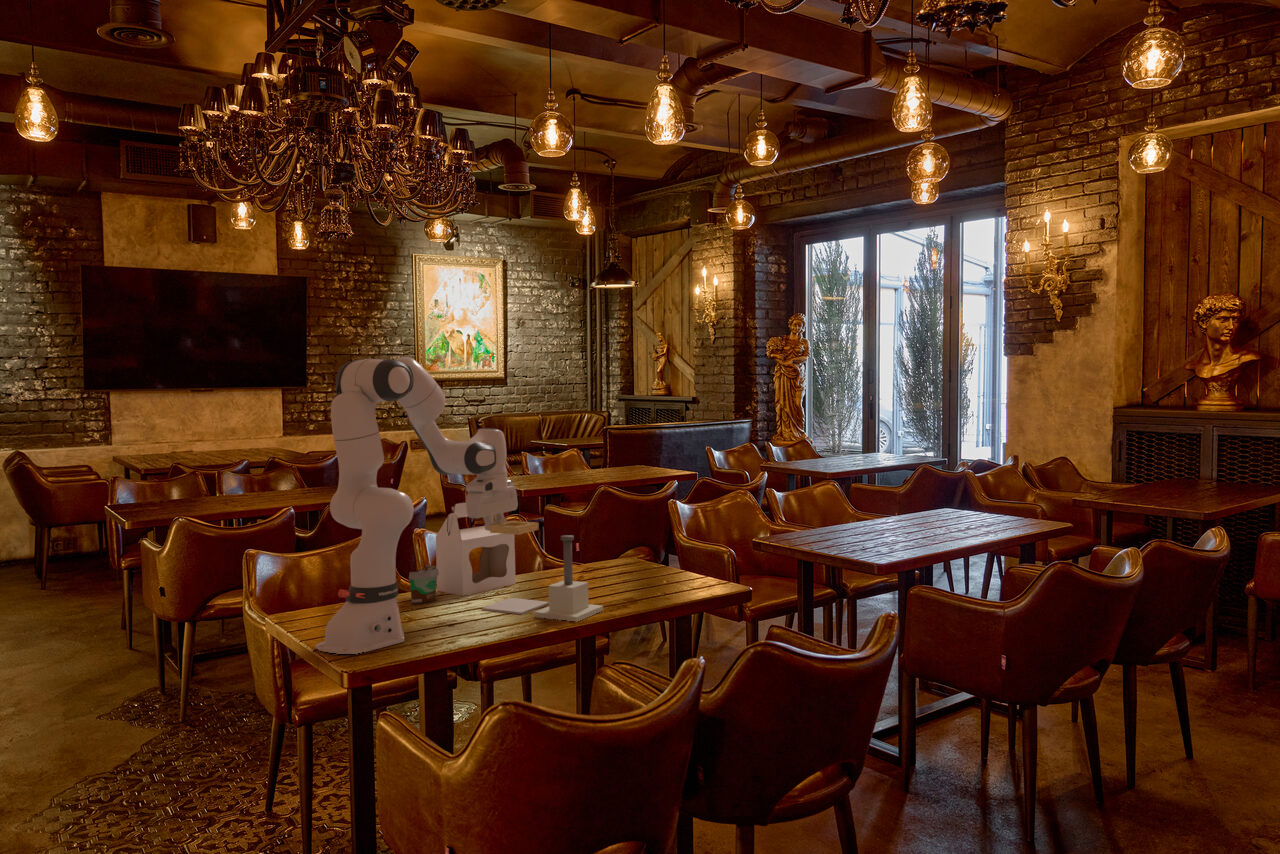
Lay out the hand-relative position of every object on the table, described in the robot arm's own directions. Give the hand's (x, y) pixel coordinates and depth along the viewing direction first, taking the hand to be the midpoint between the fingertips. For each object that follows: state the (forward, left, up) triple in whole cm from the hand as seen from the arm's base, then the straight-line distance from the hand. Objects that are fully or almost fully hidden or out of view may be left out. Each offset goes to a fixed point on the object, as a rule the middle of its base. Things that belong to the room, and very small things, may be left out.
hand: (493, 529), depth 266 cm
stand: (-1, -26, -22) cm, 35 cm away
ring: (0, -5, 0) cm, 5 cm away
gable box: (+17, +21, -23) cm, 35 cm away
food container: (-5, +22, -23) cm, 32 cm away
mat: (0, -7, -22) cm, 23 cm away
